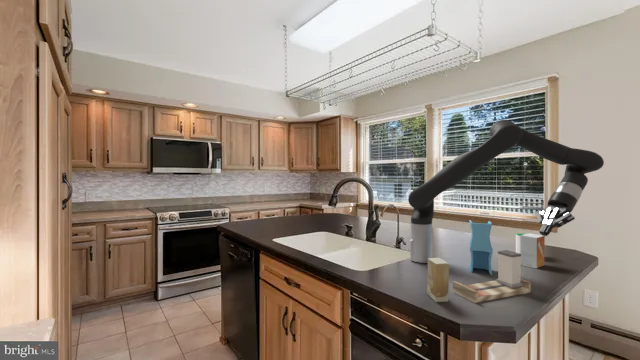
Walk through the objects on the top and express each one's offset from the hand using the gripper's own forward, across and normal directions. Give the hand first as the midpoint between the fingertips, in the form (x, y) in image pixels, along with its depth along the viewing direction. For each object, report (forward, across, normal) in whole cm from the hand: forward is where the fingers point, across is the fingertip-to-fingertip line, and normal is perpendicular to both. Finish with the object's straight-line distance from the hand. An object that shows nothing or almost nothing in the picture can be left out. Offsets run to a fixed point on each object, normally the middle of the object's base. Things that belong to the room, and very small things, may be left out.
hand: (542, 234), depth 104 cm
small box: (+2, +18, -23) cm, 30 cm away
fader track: (+29, 0, +6) cm, 29 cm away
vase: (+20, +19, -3) cm, 27 cm away
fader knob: (+22, 0, +1) cm, 22 cm away
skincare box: (+42, 0, +21) cm, 47 cm away
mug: (-6, +29, -31) cm, 43 cm away
